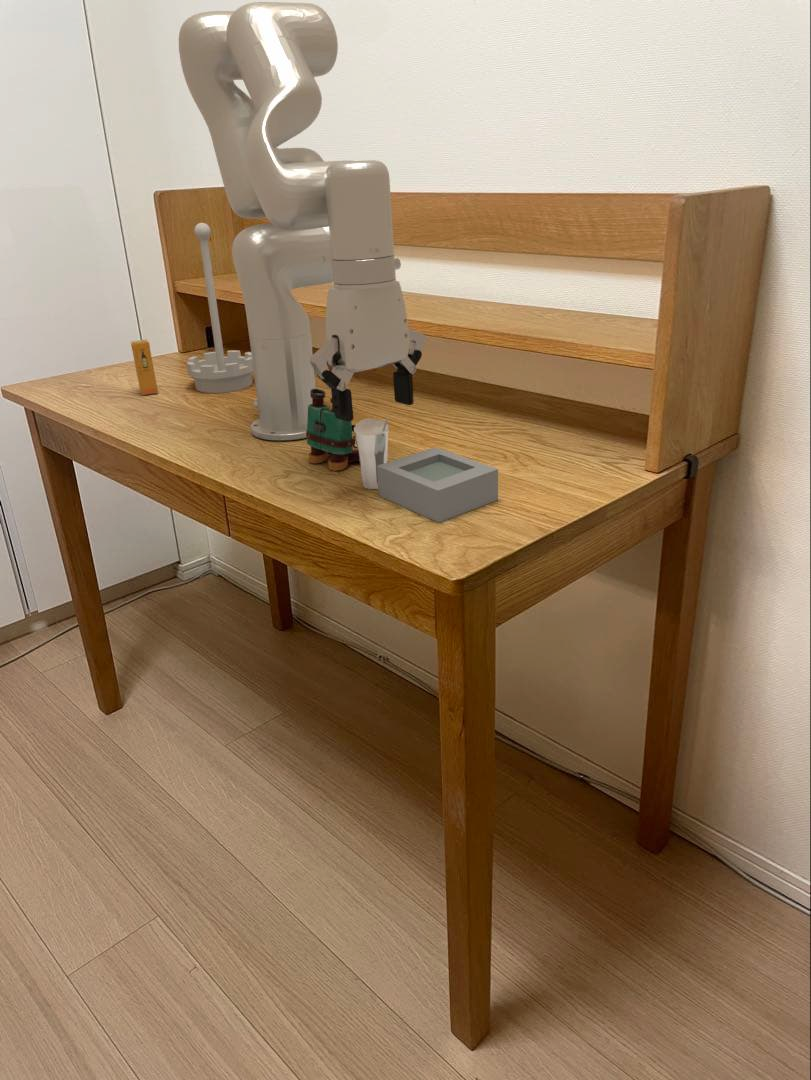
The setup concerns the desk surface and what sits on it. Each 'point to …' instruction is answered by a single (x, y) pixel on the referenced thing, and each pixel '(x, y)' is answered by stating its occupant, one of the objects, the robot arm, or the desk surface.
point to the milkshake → (371, 448)
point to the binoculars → (329, 434)
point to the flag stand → (217, 342)
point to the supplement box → (144, 367)
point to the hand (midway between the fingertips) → (374, 411)
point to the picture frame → (438, 483)
